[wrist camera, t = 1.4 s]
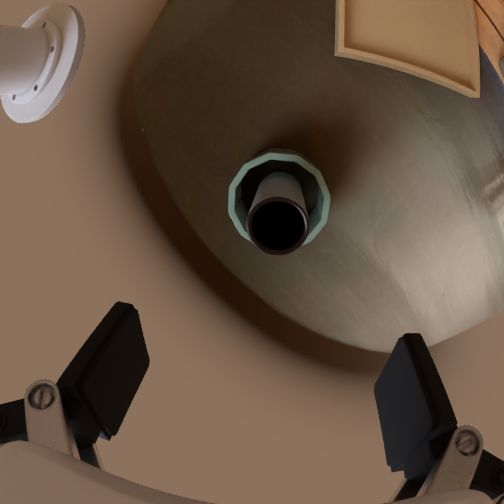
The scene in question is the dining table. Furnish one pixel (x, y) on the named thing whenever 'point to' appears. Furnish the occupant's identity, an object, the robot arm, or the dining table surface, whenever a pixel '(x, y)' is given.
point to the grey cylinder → (278, 215)
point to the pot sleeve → (323, 199)
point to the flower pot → (502, 64)
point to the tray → (413, 39)
